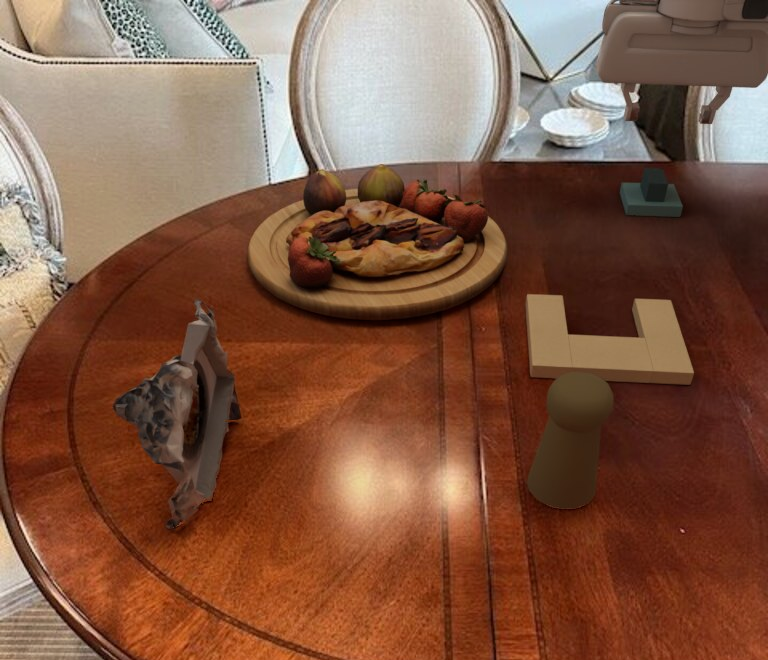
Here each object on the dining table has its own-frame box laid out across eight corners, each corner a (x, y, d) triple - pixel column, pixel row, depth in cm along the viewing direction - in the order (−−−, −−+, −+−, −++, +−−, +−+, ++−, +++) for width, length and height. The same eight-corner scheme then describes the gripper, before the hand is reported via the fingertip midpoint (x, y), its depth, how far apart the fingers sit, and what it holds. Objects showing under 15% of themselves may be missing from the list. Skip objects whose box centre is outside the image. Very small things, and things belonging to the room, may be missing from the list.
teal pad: (671, 194, 110) (678, 165, 107) (680, 217, 105) (688, 187, 102) (619, 192, 111) (625, 164, 108) (625, 215, 106) (632, 185, 103)
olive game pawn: (518, 499, 67) (535, 396, 60) (536, 456, 71) (554, 354, 64) (588, 518, 66) (615, 414, 58) (602, 472, 70) (629, 370, 62)
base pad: (667, 311, 89) (671, 299, 88) (690, 385, 79) (694, 372, 78) (525, 305, 90) (527, 293, 89) (530, 377, 80) (532, 365, 79)
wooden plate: (352, 361, 82) (349, 289, 76) (201, 249, 100) (189, 184, 94) (560, 265, 96) (571, 199, 90) (395, 182, 114) (395, 122, 108)
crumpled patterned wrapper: (200, 418, 75) (173, 297, 66) (243, 421, 75) (222, 299, 66) (150, 531, 65) (110, 406, 56) (201, 535, 65) (169, 409, 55)
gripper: (611, -1, 89) (587, 127, 99) (795, 4, 88) (753, 133, 97) (604, -15, 93) (583, 109, 103) (780, -10, 92) (741, 115, 102)
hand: (667, 121), depth 100 cm, fingers open, 8 cm apart
